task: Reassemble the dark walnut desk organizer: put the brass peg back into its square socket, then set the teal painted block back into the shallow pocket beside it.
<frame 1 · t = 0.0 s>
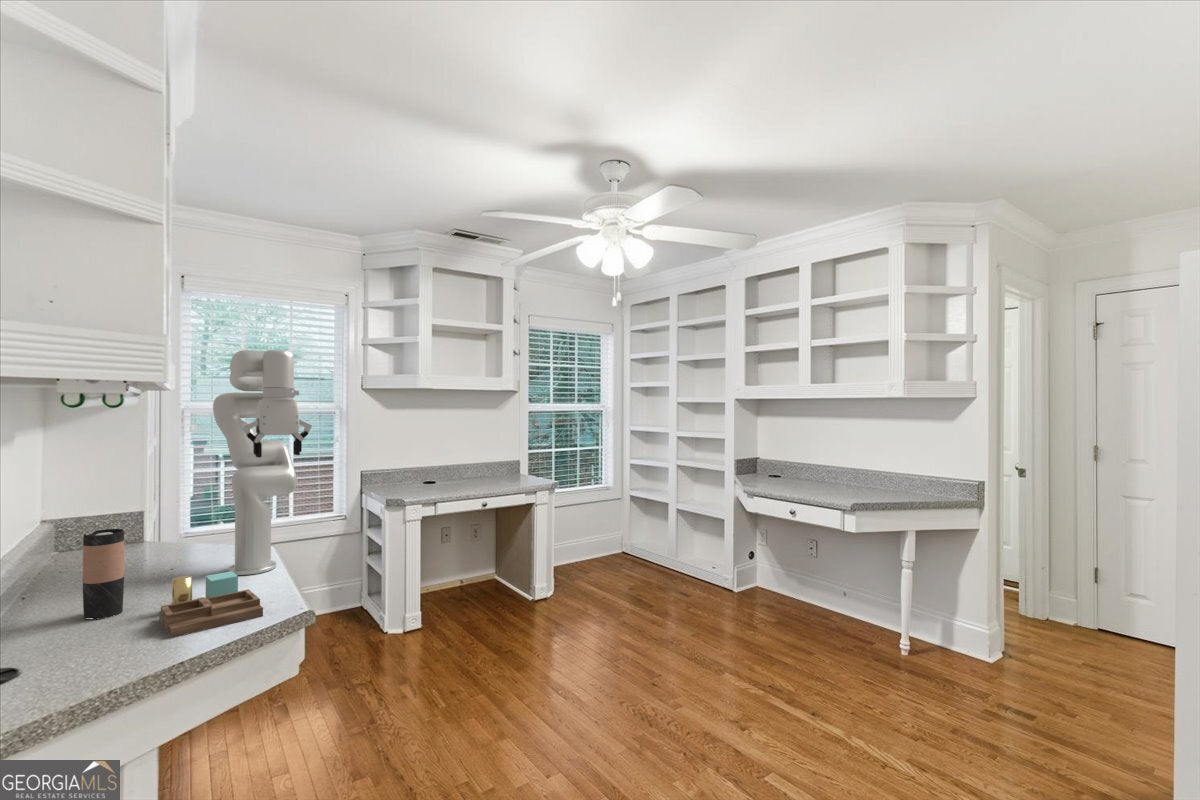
hand: (277, 455, 158), 37 cm above the table, tool pointing down, fingers open, 9 cm apart
block: (221, 598, 149), on the table
organizer: (211, 617, 136), on the table
travel mug: (103, 615, 138), on the table
peg: (182, 610, 141), on the table
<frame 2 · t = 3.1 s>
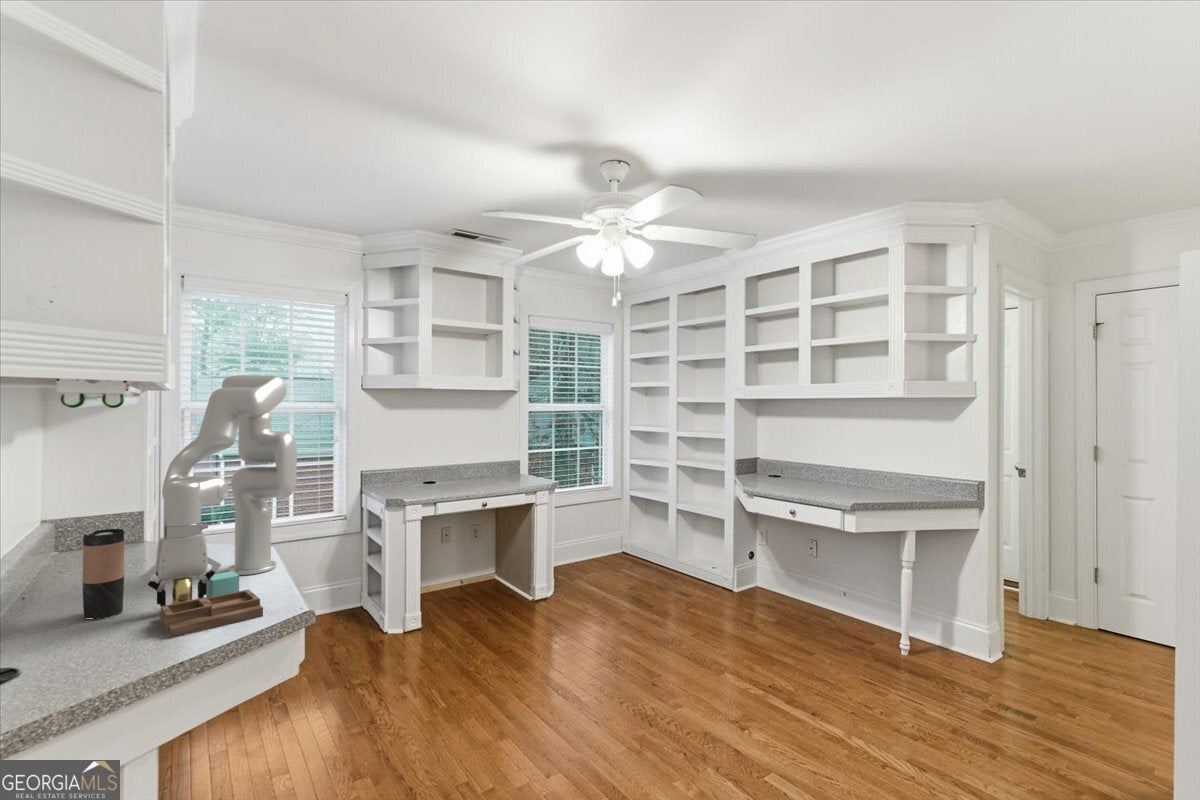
hand: (182, 601, 141), 2 cm above the table, tool pointing down, fingers open, 7 cm apart
nothing on the table moved.
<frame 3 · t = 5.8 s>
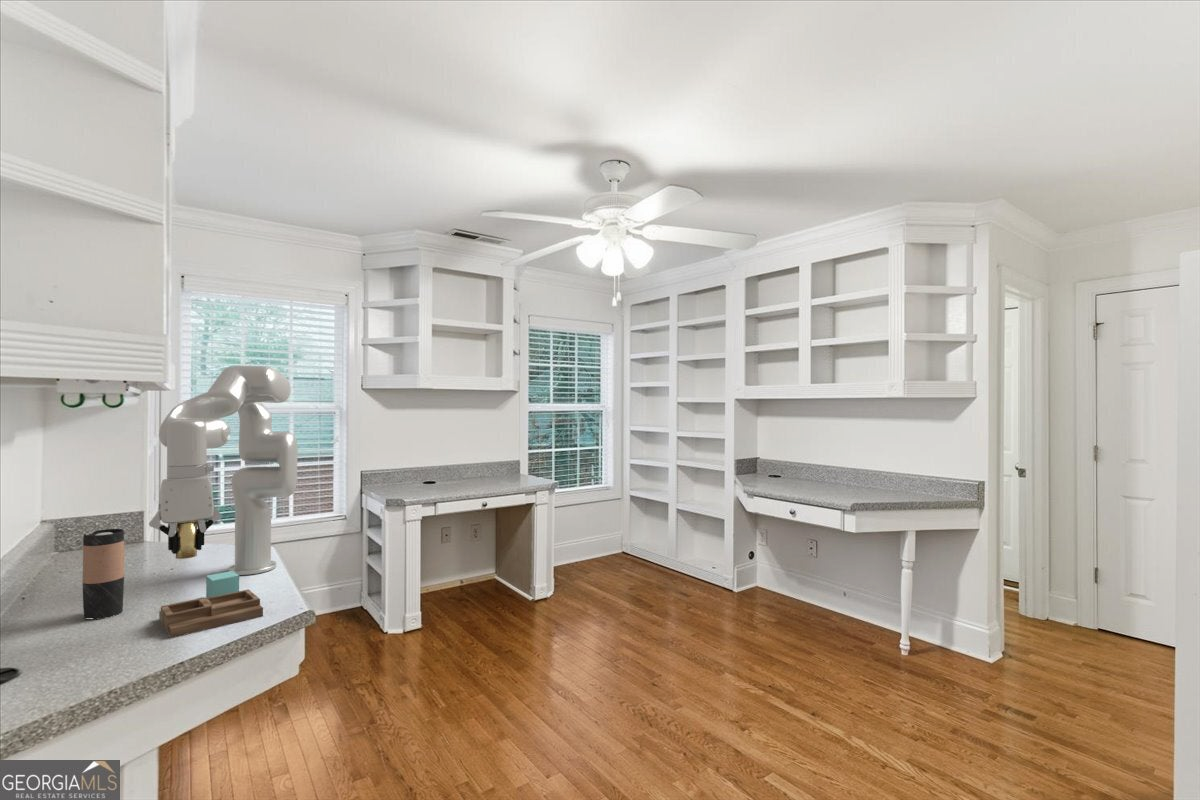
hand: (186, 550, 133), 17 cm above the table, tool pointing down, fingers closed on peg, 4 cm apart
peg: (186, 556, 133), point 16 cm above the table, touching gripper
everything else where it was.
when the fingers open (6 cm above the table, at t = 8.2 s): peg drops 2 cm, resting on organizer.
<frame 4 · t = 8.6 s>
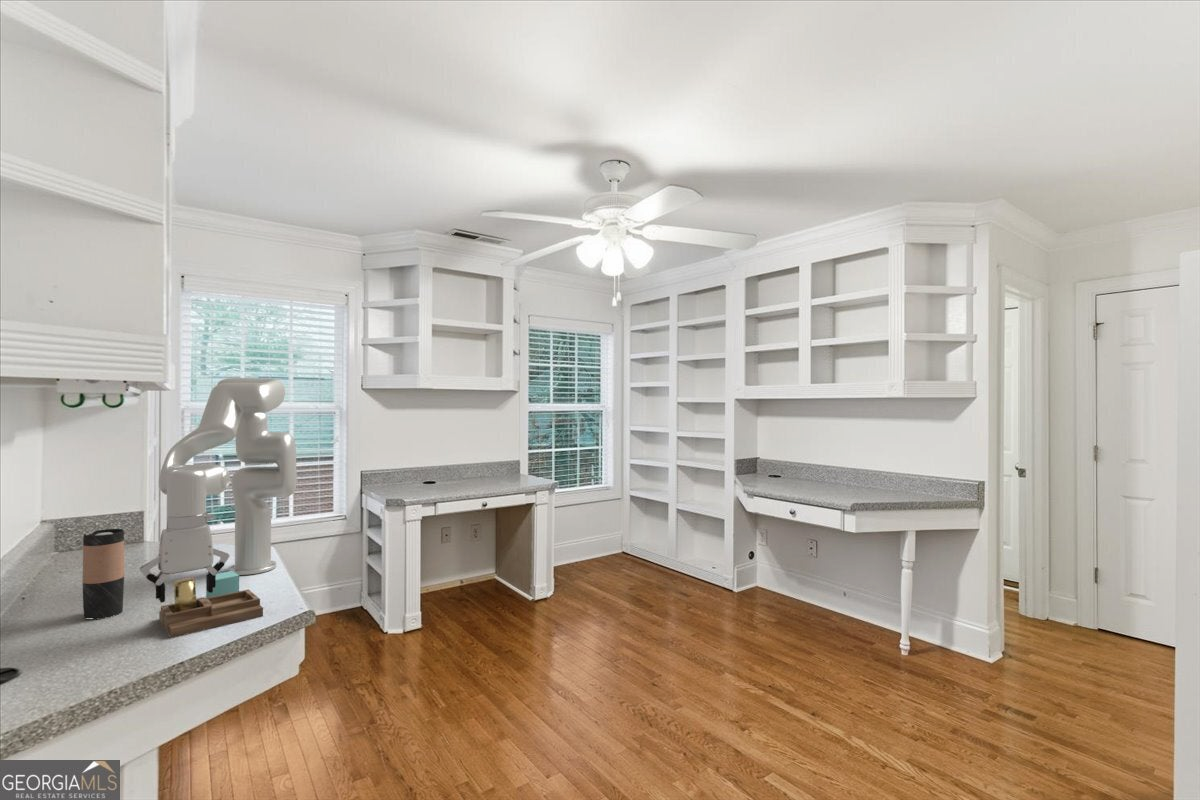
hand: (186, 595, 133), 6 cm above the table, tool pointing down, fingers open, 8 cm apart
peg: (186, 614, 133), point 2 cm above the table, touching organizer
everything else where it was.
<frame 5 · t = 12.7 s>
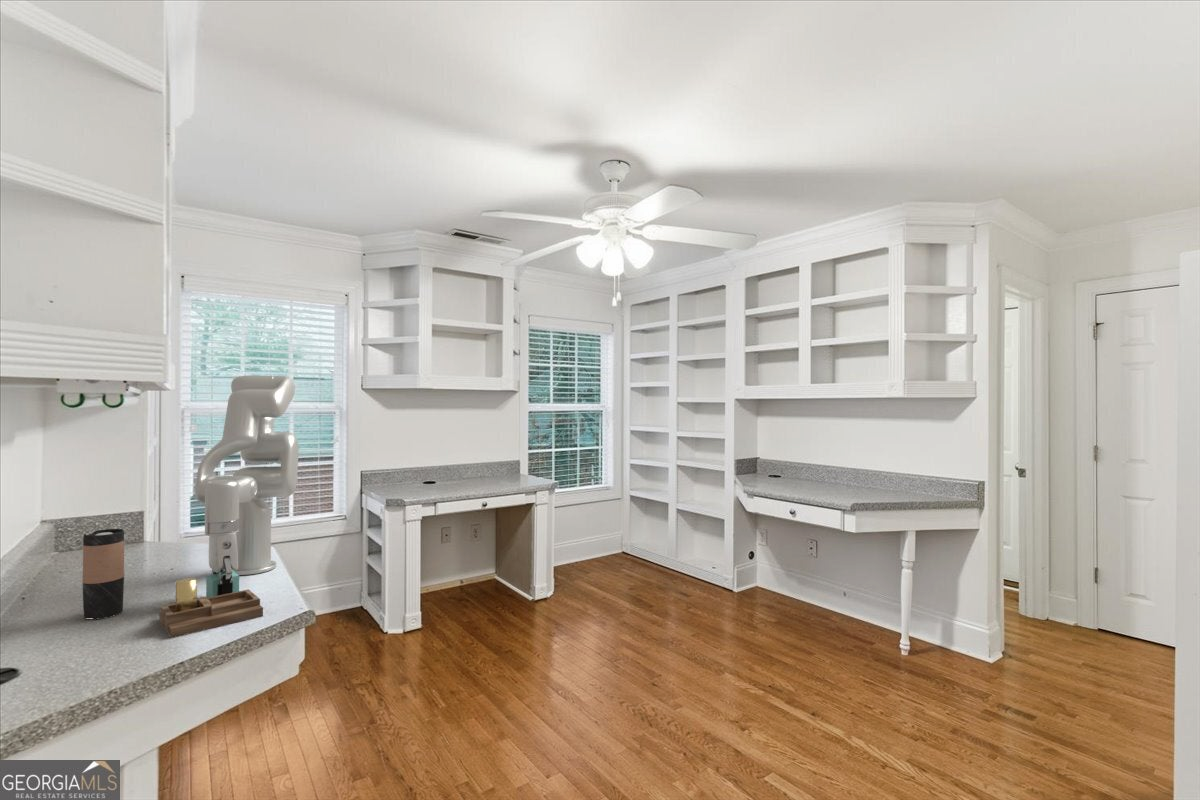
hand: (221, 594, 149), 1 cm above the table, tool pointing down, fingers open, 6 cm apart
block: (222, 598, 150), on the table, touching gripper
everything else where it was.
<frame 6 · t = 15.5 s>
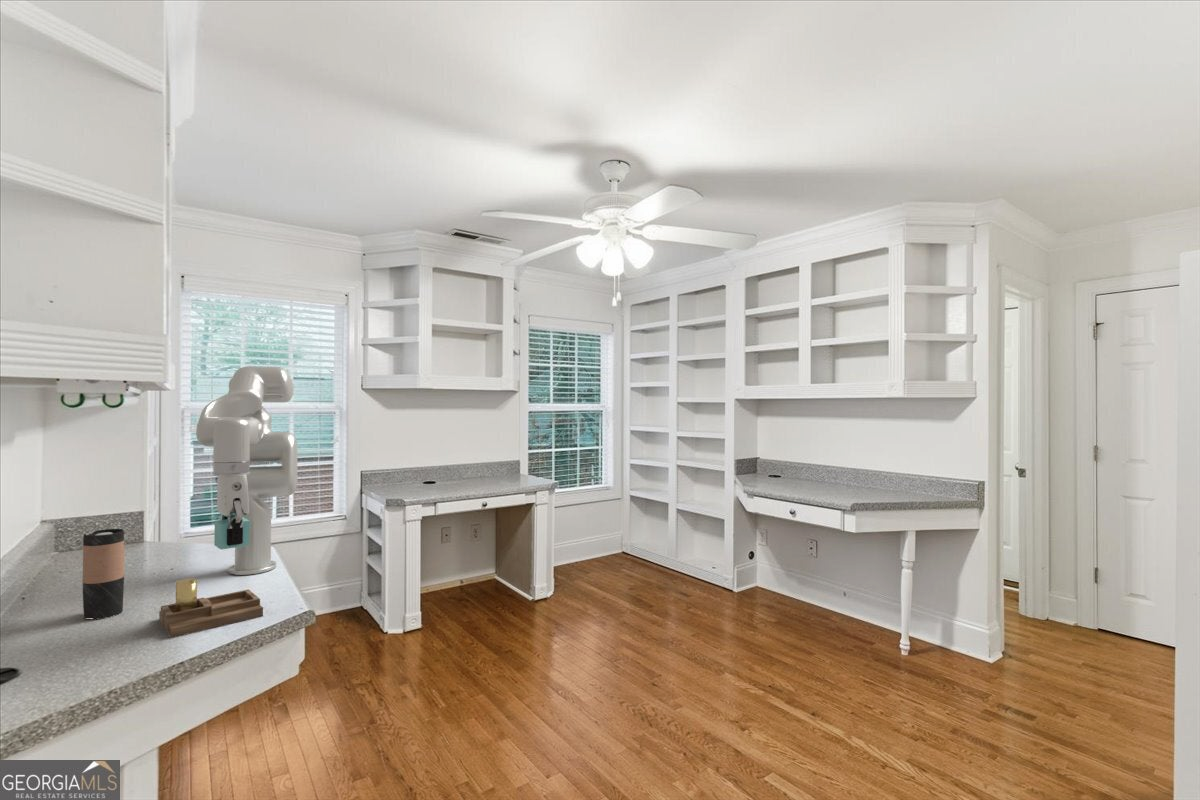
hand: (231, 541, 139), 18 cm above the table, tool pointing down, fingers closed on block, 6 cm apart
block: (232, 545, 139), point 17 cm above the table, touching gripper
everything else where it was.
when the fingers open (5 cm above the table, at t = 18.2 s): block drops 2 cm, resting on organizer.
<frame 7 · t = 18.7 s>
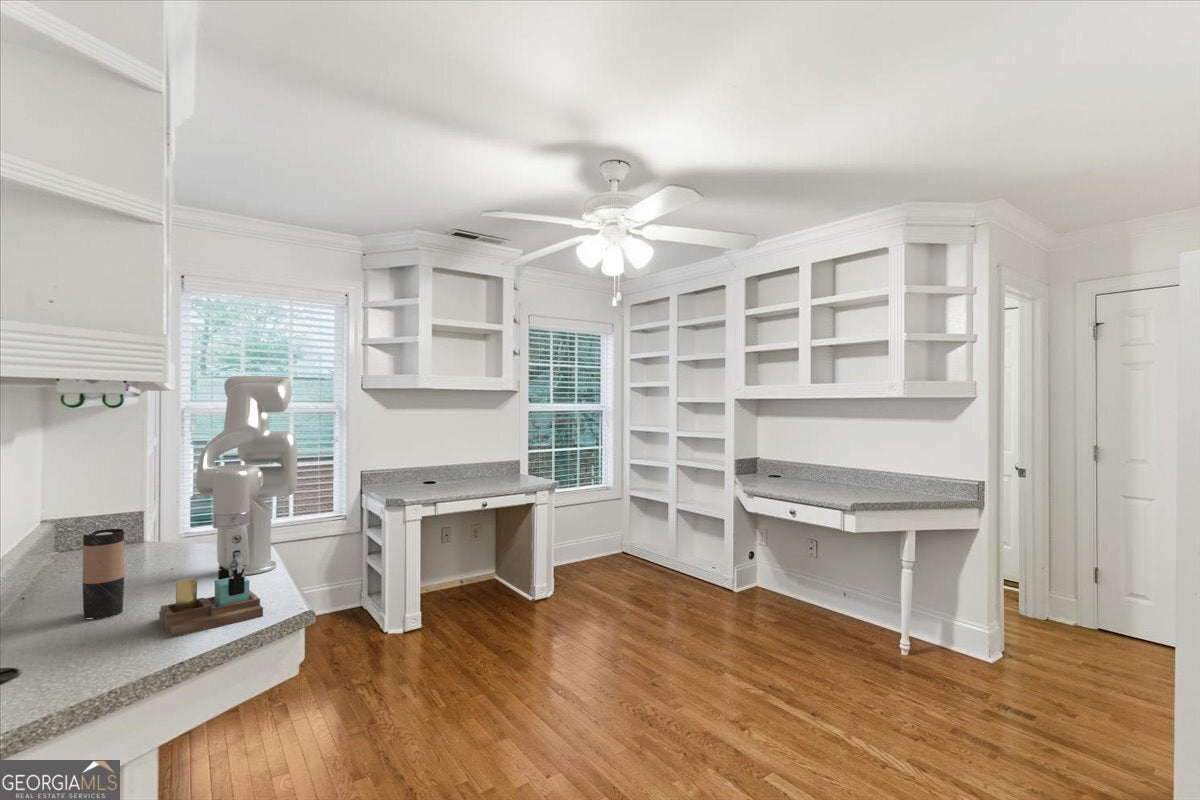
hand: (231, 589, 139), 6 cm above the table, tool pointing down, fingers open, 9 cm apart
block: (231, 604, 139), point 2 cm above the table, touching organizer
everything else where it was.
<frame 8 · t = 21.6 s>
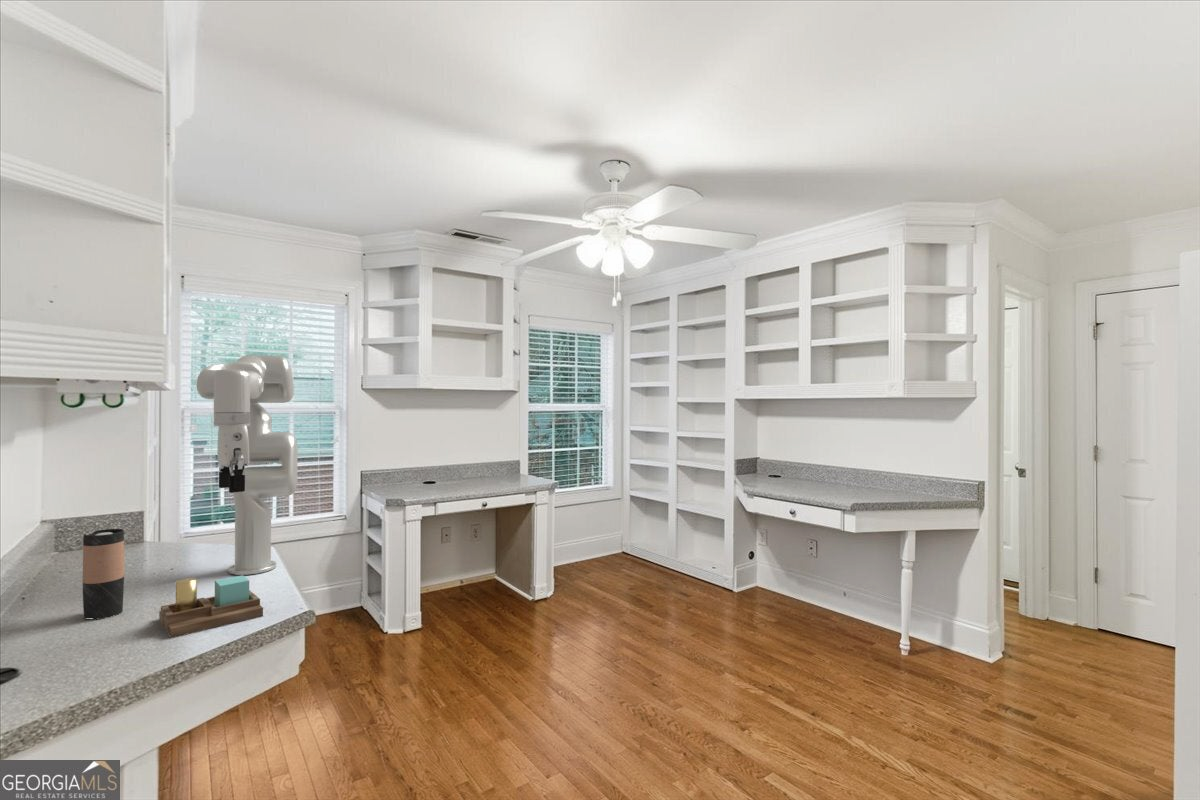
hand: (231, 489, 139), 30 cm above the table, tool pointing down, fingers open, 9 cm apart
nothing on the table moved.
at the end: peg 0.0 cm from the target spot on the organizer, point 2.0 cm above the organizer's base; peg tilted 0°; block 0.2 cm from the target spot on the organizer, point 2.0 cm above the organizer's base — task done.
